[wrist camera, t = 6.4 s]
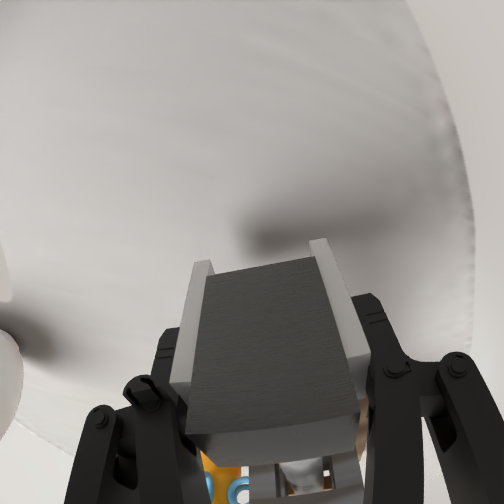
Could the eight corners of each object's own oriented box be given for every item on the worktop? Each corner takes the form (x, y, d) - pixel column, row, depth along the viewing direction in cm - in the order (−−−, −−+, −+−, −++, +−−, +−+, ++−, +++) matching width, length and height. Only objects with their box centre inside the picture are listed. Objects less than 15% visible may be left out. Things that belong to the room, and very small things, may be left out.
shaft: (206, 275, 13) (184, 434, 7) (314, 255, 12) (360, 412, 7) (281, 458, 25) (286, 522, 19) (328, 450, 24) (338, 515, 18)
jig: (197, 370, 23) (182, 519, 13) (378, 339, 21) (427, 485, 11) (260, 467, 36) (263, 541, 26) (358, 451, 35) (372, 524, 25)
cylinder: (282, 441, 31) (290, 558, 18) (245, 466, 36) (247, 559, 23) (177, 422, 28) (164, 555, 15) (159, 450, 33) (148, 551, 20)
